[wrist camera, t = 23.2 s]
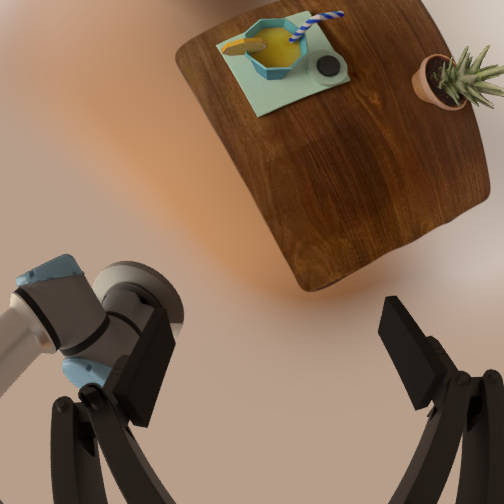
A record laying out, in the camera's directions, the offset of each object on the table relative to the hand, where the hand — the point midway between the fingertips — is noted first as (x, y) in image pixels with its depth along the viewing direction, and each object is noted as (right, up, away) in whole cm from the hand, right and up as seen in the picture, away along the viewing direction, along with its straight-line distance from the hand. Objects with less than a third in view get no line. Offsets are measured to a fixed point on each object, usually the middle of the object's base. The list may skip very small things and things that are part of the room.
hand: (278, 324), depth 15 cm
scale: (+3, +34, +19) cm, 39 cm away
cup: (+2, +32, +18) cm, 37 cm away
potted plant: (+28, +33, +18) cm, 47 cm away
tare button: (+10, +31, +17) cm, 37 cm away
